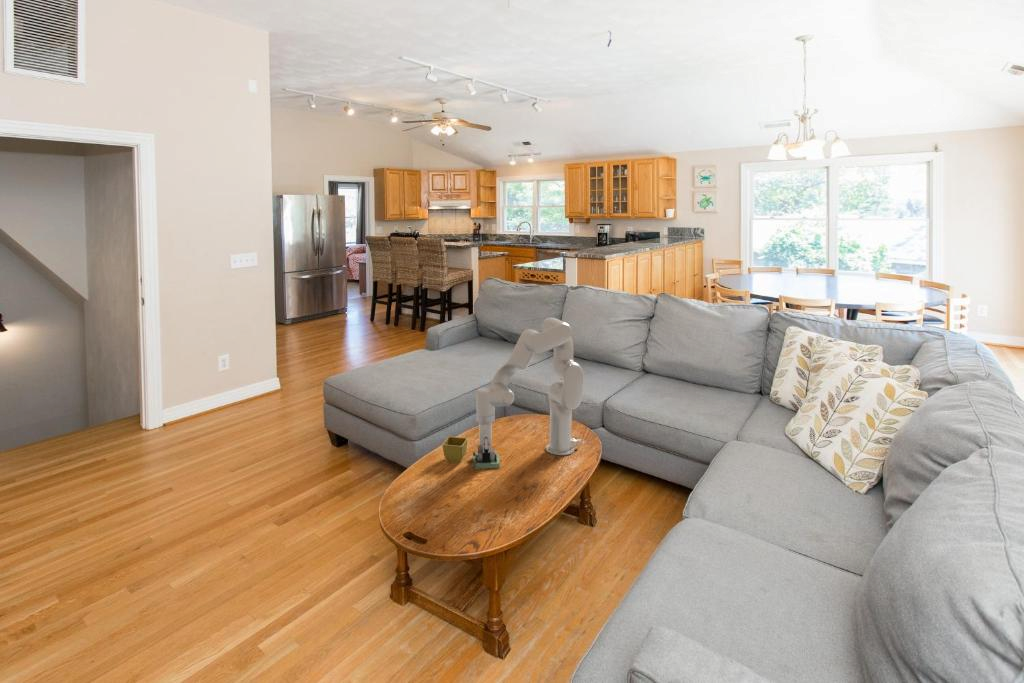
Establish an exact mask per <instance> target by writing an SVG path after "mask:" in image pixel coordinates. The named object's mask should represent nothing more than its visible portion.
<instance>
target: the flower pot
mask: <svg viewBox="0 0 1024 683" xmlns="http://www.w3.org/2000/svg"><path fill="white" fill-rule="evenodd" d="M467 447H468V437H460V436H459V437H457V436H448V437H447V438H446V439H445V441H444V442H443V443H442V451H443V455H444V458H445V460H446V461H447V462H448V463H451V464H453V463H454V464H461V463H462V460H463V459H464V457H465V455H466V451H467V449H468V448H467Z"/></svg>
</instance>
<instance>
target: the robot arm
mask: <svg viewBox="0 0 1024 683" xmlns="http://www.w3.org/2000/svg"><path fill="white" fill-rule="evenodd" d="M541 330H542V331H541V332H539V331H537V330H535V329H529V328H528V329H524V331H522V333H521V334H520V335H519V338H518V340H517V342H516V344H515V347H514V348H513V351H512V352H511V354H510V357H509V359H508V360H507V361H506V362H504V363H503V365H502V366H501V367H500V368H499V369H497V371H496V373H495V374H494V376H493V379H492V380H491V383H490V385H489V387H480V388H478V389H476V393H475V400H476V402H475V405H476V406H475V407H476V410H475V412H476V423H478V442H479V443H478V446H480V447H481V446H483V452H482V461H483V462H488V461H490V451H489V447H492V446H491V445H492V434H493V432H492V431H493V427H492V425H493V424H494V423H495V421H496V419H495V418H496V417H495V414H496V413H495V412H496V411H495V410H496V408H495V407H508V406H510V405H512V404H513V403H514V401H515V394H514V392H513V391H512V390H511V389H510V388H509V387H508V386H509V383H510V381H511V380H512V379H513V377H514V376H515V375H517V374H519V373H521V372H524V371H526V370H527V369H528V367H529V366H530V363H531V361H532V360H533V357H534V356H535V354H537V355H538V354H543V353H546V352H548V351H550V350H553V354H552V356H553V358H552V374H553V376H554V377H556V378H557V379H558V380H555V381H553V382H552V383H551V384H550V386H549V389H548V401H549V443H548V444H546V446H545V450H546V452H547V453H548V454H551V455H555V456H568V455H571V454H573V453H574V451H575V447H574V446H575V445H579V444H581V439H575V438H572V418H573V417H572V415H573V410H575V409H577V408H578V407H579V406H580V405H581V402H582V399H583V391H584V390H583V388H584V371H583V368H582V367H581V365H580V364H579V363H577V362H575V360H574V340H573V338H572V335H573V329H572V327H571V326H570V324H568V323H567V322H565V321H562V320H560V319H559V318H555V317H546V318H545V319H544V320H543V321H542V323H541Z"/></svg>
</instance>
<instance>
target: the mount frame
mask: <svg viewBox="0 0 1024 683" xmlns="http://www.w3.org/2000/svg"><path fill="white" fill-rule="evenodd" d="M495 459H496V461H495V463H478V462H476V460H478V453H476V451H472V469H475V470H476V469H499V468H501V467H500V454H499V453H498V452H495Z"/></svg>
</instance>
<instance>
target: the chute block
mask: <svg viewBox="0 0 1024 683" xmlns="http://www.w3.org/2000/svg"><path fill="white" fill-rule="evenodd" d="M489 451H490V461H488V462H483V461H482V452H483V446H481V447H480V446H479V445H477V454H478V459H477V463H495V462H496V461H495V453H496V452H495V446H493V447H492V446H490V447H489Z"/></svg>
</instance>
